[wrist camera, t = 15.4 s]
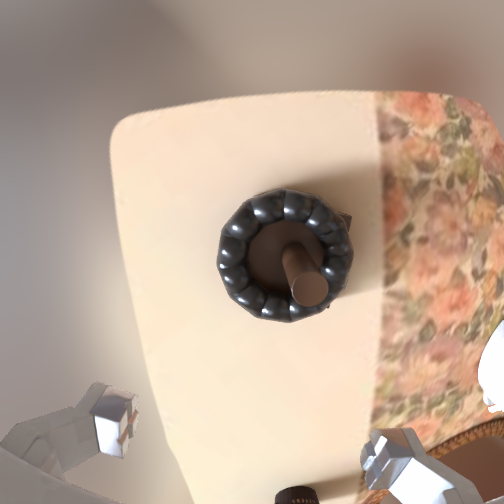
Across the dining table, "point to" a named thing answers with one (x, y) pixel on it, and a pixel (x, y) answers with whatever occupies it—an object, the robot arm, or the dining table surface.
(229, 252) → the ring
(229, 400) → the dining table surface
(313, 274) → the peg stand
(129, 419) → the robot arm
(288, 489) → the coffee mug
